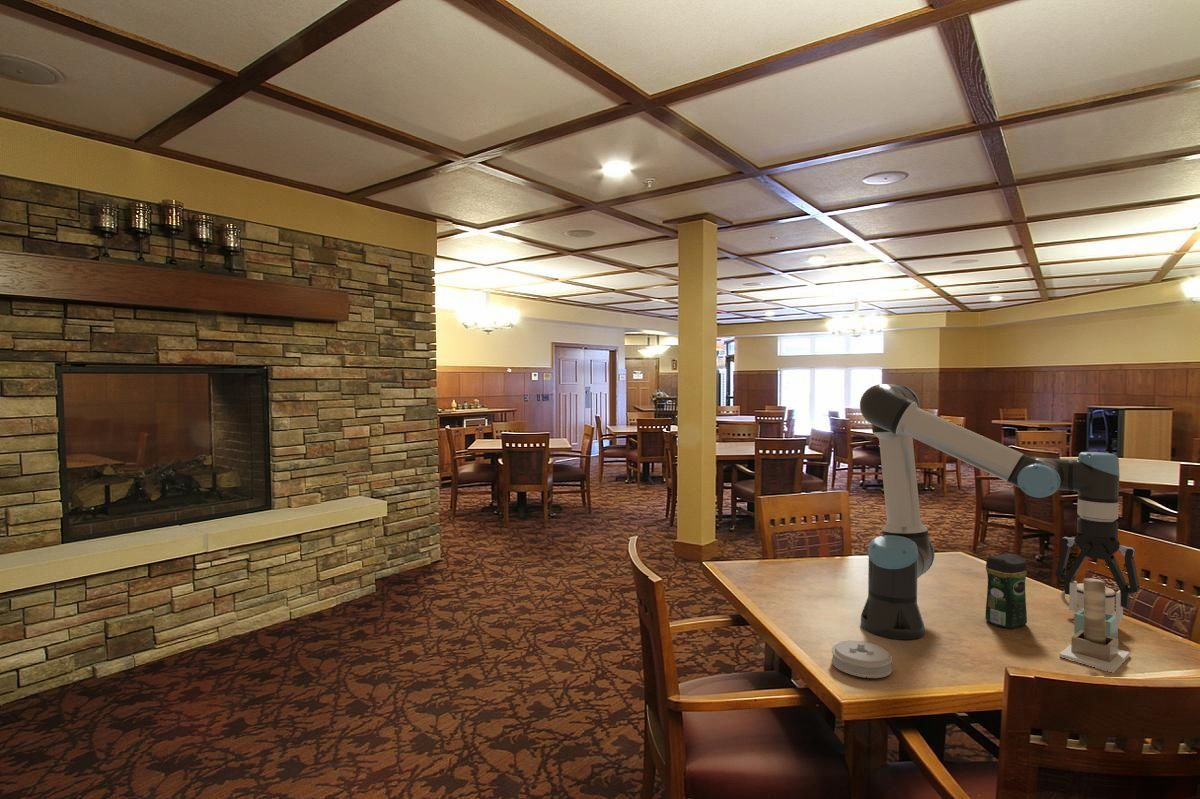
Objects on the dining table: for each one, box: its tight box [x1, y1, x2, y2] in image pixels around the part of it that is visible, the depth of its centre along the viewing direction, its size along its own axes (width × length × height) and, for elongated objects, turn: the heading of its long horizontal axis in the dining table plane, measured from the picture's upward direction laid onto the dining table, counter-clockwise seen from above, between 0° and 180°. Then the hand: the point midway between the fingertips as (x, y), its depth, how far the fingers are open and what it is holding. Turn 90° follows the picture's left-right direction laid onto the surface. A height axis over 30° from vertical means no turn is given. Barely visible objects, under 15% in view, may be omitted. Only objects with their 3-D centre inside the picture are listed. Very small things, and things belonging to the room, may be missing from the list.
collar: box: [1070, 630, 1119, 662], centre depth 146 cm, size 7×7×4 cm
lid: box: [831, 639, 893, 679], centre depth 140 cm, size 13×13×5 cm
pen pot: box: [1073, 608, 1119, 639], centre depth 157 cm, size 7×7×6 cm
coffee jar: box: [985, 552, 1028, 629], centre depth 167 cm, size 10×8×19 cm
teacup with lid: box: [1060, 582, 1116, 619], centre depth 169 cm, size 12×9×12 cm
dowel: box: [1083, 577, 1106, 645], centre depth 146 cm, size 4×4×17 cm
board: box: [1059, 644, 1131, 674], centre depth 146 cm, size 14×10×1 cm
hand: (1095, 614), depth 146 cm, fingers open, 8 cm apart
